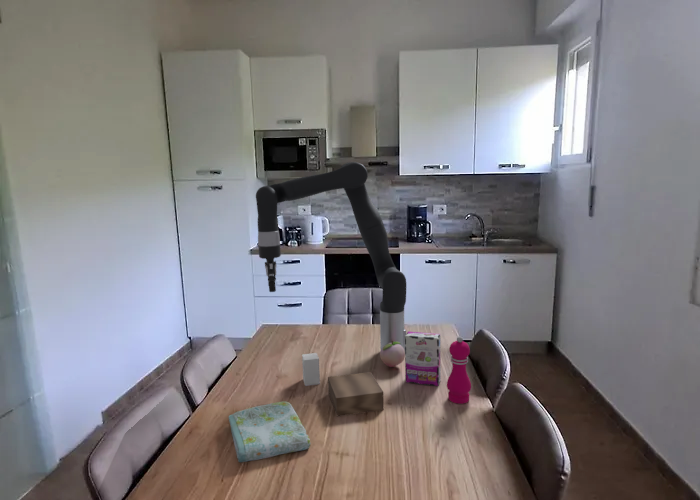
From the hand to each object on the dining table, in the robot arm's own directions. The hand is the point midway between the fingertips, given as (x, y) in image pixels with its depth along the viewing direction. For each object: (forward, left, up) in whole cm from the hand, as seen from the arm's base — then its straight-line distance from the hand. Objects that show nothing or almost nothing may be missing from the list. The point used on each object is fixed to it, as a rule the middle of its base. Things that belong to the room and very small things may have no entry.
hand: (272, 288), depth 160 cm
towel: (+5, +45, -30) cm, 54 cm away
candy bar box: (-47, +26, -29) cm, 61 cm away
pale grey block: (-11, +16, -29) cm, 35 cm away
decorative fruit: (-41, +13, -29) cm, 52 cm away
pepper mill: (-53, +40, -29) cm, 72 cm away
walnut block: (-22, +33, -30) cm, 49 cm away
